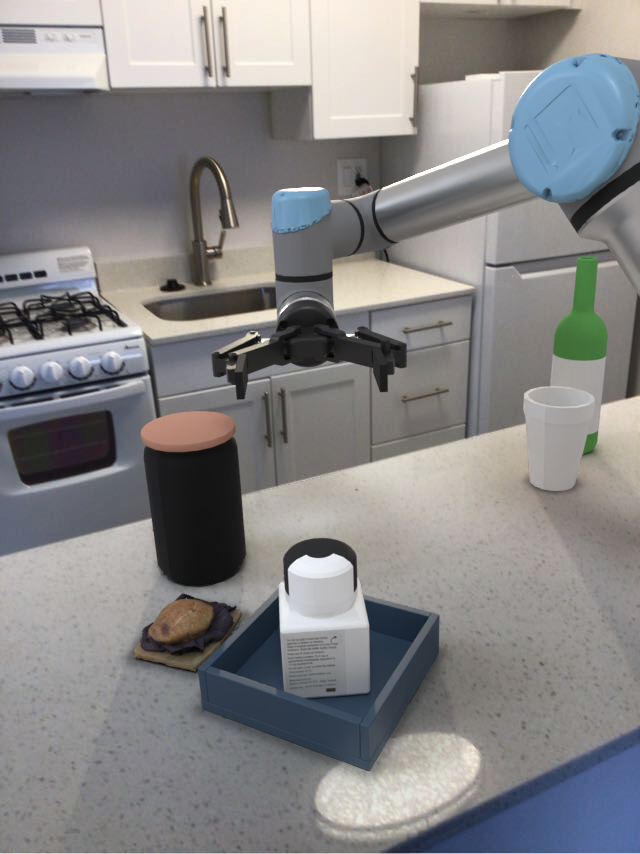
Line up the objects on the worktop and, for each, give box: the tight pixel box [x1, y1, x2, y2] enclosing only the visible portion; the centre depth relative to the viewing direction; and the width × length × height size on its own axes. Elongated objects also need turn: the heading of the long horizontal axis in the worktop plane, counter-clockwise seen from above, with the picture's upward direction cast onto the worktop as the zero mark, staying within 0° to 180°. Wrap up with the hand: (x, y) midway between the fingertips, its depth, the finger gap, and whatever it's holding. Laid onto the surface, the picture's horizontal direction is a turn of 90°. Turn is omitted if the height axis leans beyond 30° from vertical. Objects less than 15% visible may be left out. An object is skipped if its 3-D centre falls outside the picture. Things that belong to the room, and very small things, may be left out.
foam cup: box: [522, 385, 595, 492], centre depth 107 cm, size 10×9×13 cm
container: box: [278, 537, 370, 699], centre depth 69 cm, size 8×8×13 cm
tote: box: [197, 587, 441, 772], centre depth 71 cm, size 17×17×4 cm
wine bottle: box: [549, 255, 609, 455], centre depth 116 cm, size 8×8×30 cm
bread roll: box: [132, 593, 242, 672], centre depth 78 cm, size 11×8×4 cm
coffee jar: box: [140, 410, 247, 587], centre depth 88 cm, size 11×11×18 cm
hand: (311, 382), depth 71 cm, fingers open, 13 cm apart
